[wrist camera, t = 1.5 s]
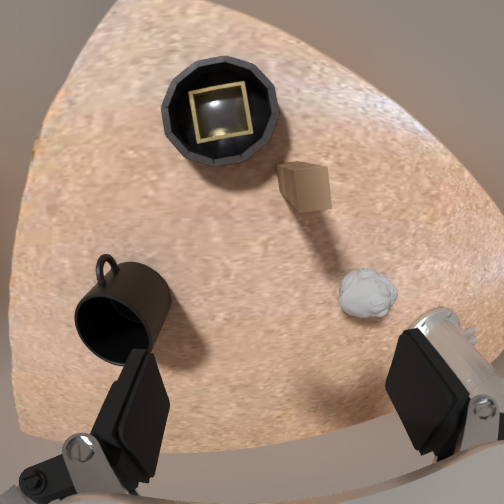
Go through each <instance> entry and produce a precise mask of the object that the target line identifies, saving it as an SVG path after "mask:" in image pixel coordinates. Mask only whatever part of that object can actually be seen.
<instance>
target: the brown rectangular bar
mask: <svg viewBox="0 0 504 504" xmlns="http://www.w3.org/2000/svg"><path fill="white" fill-rule="evenodd" d="M276 170H277V176H278V183H279V190H280V192H281V193H282V194H283V195H284V197H285V198H286V199H287V200H288V201H289V202H290V203H291V205H292V206H293V207H294V208H295V209H296V210H297V212H298V213H305V212H312V211H319V210H327V209H332V205H331V195H330V185H329V176H328V168H327V167H326V166H321V165H315V164H310V163H304V162H298V161H296V162H288V163H281V164H276Z"/></svg>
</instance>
